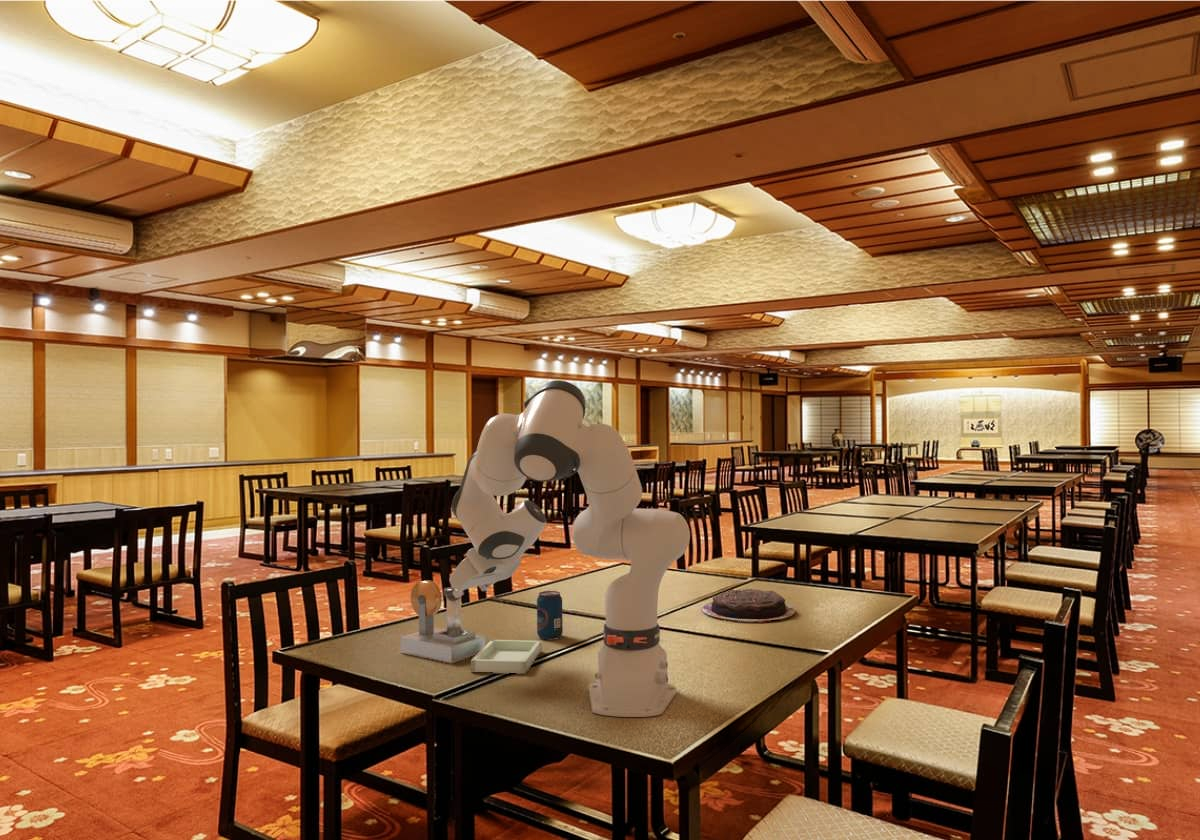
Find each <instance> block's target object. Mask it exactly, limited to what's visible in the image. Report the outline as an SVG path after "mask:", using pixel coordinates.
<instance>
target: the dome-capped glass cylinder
mask: <svg viewBox="0 0 1200 840" xmlns="http://www.w3.org/2000/svg"><path fill="white" fill-rule="evenodd" d="M454 590H455V589H454V588H453V586H450V587H444V588H443V597H445V598H446V629H447V635H449V636H457V635H461V629H462V596H464V595H465V590H463V592H464V594H463V595H462V596H461V597H458V598H455V597H454V595H453V591H454Z"/></svg>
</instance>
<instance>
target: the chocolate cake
mask: <svg viewBox="0 0 1200 840" xmlns="http://www.w3.org/2000/svg"><path fill="white" fill-rule="evenodd" d="M701 611H702V613H704V614H705V615H706V616H707V617H708V616H709V617H708V618H714V619H715V618H716V620H719V619H720V621H723V620H726V621H725V622H727V621H739V622H738V623H744V622H764V623H767V622H766V621H769V622H772V621H771V620H783V619H784V620H785V619H787V618H790V617H793V616H794V615H795V613H796V610H795V608H794V607H793V606H791V605H789V604H786V599H785V598H784V597H783V596H782V595H780V594H778V593H777V592H776V591H773V590H761V589H756V588H755V589H752V588H746V589H744V588H743V589H728V590H727V591H724V592H722V593H719V594H717V595H715V596H713V597H712V602H708V603H706V604H705V605H703V606H702V608H701ZM792 615H793V616H792ZM784 620H783V621H784ZM740 621H741V622H740Z"/></svg>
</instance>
